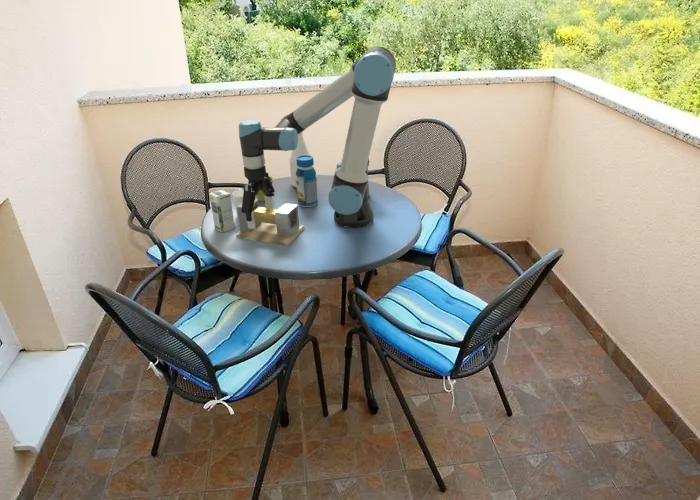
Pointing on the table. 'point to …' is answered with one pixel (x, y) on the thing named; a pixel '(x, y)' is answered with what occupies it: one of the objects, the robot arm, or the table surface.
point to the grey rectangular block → (287, 220)
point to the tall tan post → (264, 215)
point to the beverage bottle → (306, 181)
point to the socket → (243, 218)
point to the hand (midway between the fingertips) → (261, 220)
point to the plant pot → (260, 194)
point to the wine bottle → (295, 153)
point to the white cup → (238, 198)
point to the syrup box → (222, 210)
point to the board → (268, 234)
